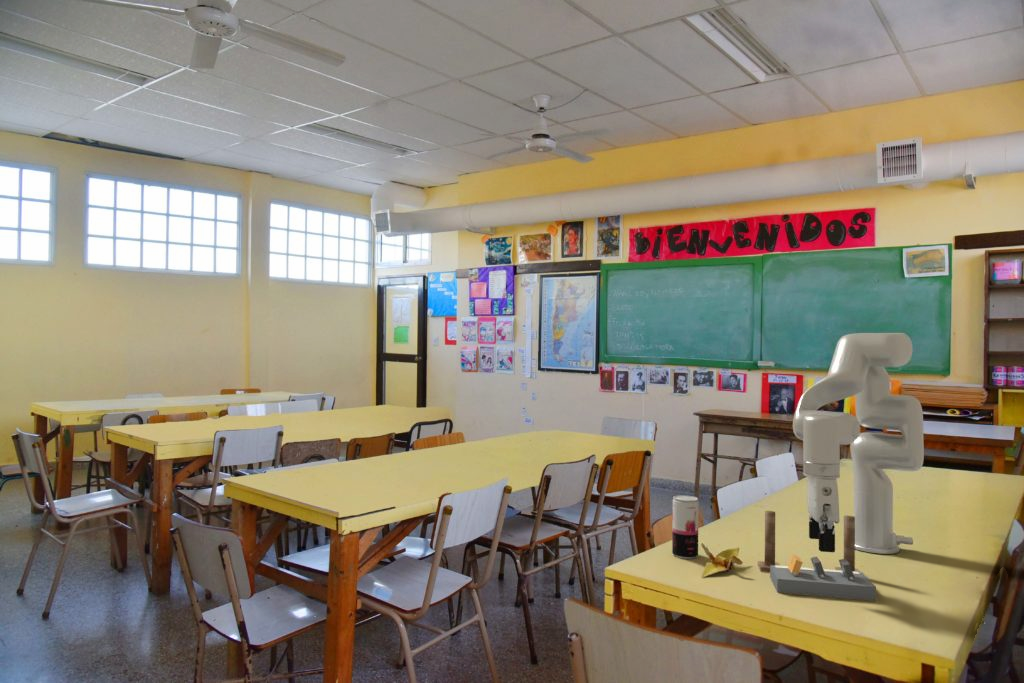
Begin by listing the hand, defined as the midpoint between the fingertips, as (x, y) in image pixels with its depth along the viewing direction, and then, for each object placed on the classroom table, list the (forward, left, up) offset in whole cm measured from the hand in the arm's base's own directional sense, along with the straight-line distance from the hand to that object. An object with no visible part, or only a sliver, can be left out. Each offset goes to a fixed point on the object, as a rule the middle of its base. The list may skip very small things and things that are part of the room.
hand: (821, 544), depth 150 cm
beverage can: (+29, -18, -10) cm, 36 cm away
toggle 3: (-6, 0, -7) cm, 9 cm away
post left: (+9, -12, -10) cm, 18 cm away
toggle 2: (0, 0, -7) cm, 7 cm away
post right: (-9, -12, -10) cm, 17 cm away
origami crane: (+21, -8, -10) cm, 25 cm away
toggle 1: (+6, 0, -7) cm, 9 cm away
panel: (0, 0, -10) cm, 10 cm away
